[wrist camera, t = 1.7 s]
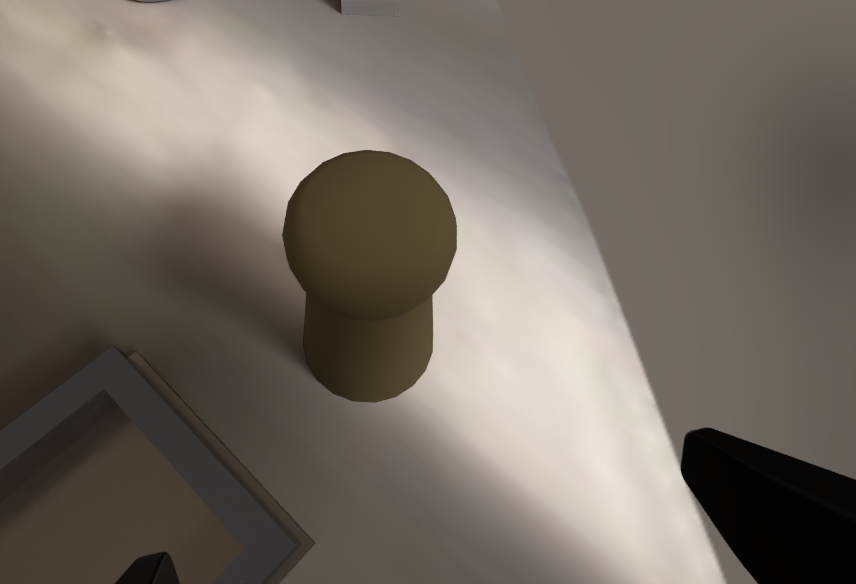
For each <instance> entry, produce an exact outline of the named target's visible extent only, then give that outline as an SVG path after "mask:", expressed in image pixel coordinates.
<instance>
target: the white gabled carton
mask: <svg viewBox="0 0 856 584" xmlns="http://www.w3.org/2000/svg"><path fill="white" fill-rule="evenodd" d="M341 8H342V15H364V16H392V17H399V10H400V0H341Z"/></svg>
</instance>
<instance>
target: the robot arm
mask: <svg viewBox="0 0 856 584" xmlns="http://www.w3.org/2000/svg"><path fill="white" fill-rule="evenodd" d="M681 473H682V476H683V478H684V480H685V482H686V484H687V485H688V487H689V488H690V490H691V491H692V492H693V494H694V495H695V497H696V498H697V500H698V501H699V503H700V504H701V506H702V507H703V509H704V510H705V512H706V513H707V515H708V516H709V517H710V519H711V521H712V522H713V524H714V525H715V527H716V528H717V529H718V531H719V532H720V534H721V535H722V537H723V538H724V540H725V541H726V543H727V544H728V546H729V547H730V548H731V550H732V551H733V553H734V554H735V555H736V557H737V558H738V559H739V561H740V562H741V563H742V564H743V566H744V567H745V568H746V570H747V571H748V572H749V573H750V574H751V576H752V577H753V578H754V579H755V581H756V582H757V583H758V584H856V480H855V479H852V478H849V477H847V476H844V475H841V474H838V473H835V472H833V471H830V470H827V469H824V468H822V467H819V466H816V465H813V464H810V463H807V462H805V461H802V460H799V459H796V458H794V457H791V456H788V455H785V454H782V453H780V452H776V451H774V450H771V449H768V448H766V447H762V446H760V445H757V444H754V443H751V442H749V441H746V440H743V439H740V438H737V437H735V436H732V435H729V434H726V433H723V432H720V431H718V430H715V429H712V428H700V429H697V430H692V431H689V432H687V433H686V435H685V437H684V443H683V451H682V459H681ZM114 584H180V582H179V579H178V576H177V573H176V570H175V567H174V564H173V561H172V558H171V556H170V555H169V553H167V552H158V553H154V554H150V555H145V556H142V557H139V558H138V559H136V560H135V561H134V562H133V563H132V564H131V565H130V567H129V568H128V569H127V570H126V571H125V572H124V573H123V574H122V576H121V577H120V578H119V579H118V580H117V581H116V582H115V583H114Z"/></svg>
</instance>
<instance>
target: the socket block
mask: <svg viewBox="0 0 856 584" xmlns="http://www.w3.org/2000/svg"><path fill="white" fill-rule="evenodd" d="M314 544H315V542H314V541H313V540H312V539H311V538H310V537H309V536H308V534H307V533H306V532H305V531H304V530H303V529H302V528H301V527H300V526H299V525H298V524H297V523H296V522H295V520H294V519H293V518H292V517H291V516H290V515H289V514H288V513H287V512H286V511H285V510H284V509H283V508H282V507H281V505H280V504H279V503H278V502H277V501H276V500H275V499H274V498H273V497H272V496H271V495H270V494H269V493H268V491H267V490H266V489H265V488H264V487H263V486H262V485H261V484H260V483H259V482H258V481H257V480H256V479H255V477H254V476H253V475H252V474H251V473H250V472H249V471H248V470H247V469H246V468H245V467H244V466H243V465H242V463H241V462H240V461H239V460H238V459H237V458H236V457H235V456H234V455H233V454H232V453H231V452H230V451H229V449H228V448H227V447H226V446H225V445H224V444H223V443H222V442H221V441H220V440H219V439H218V438H217V437H216V435H215V434H214V433H213V432H212V431H211V430H210V429H209V428H208V427H207V426H206V425H205V424H204V423H203V421H202V420H201V419H200V418H199V417H198V416H197V415H196V414H195V413H194V412H193V411H192V410H191V409H190V407H189V406H188V405H187V404H186V403H185V402H184V401H183V400H182V399H181V398H180V397H179V396H178V395H177V393H176V392H175V391H174V390H173V389H172V388H171V387H170V386H169V385H168V384H167V383H166V382H165V381H164V379H163V378H162V377H161V376H160V375H159V374H158V373H157V372H156V371H155V370H154V369H153V368H152V367H151V365H150V364H149V363H148V362H147V361H146V360H145V359H144V358H143V357H142V356H141V355H140V354H139V353H137V352H136V351H135V352H134V353H133V354H132V355H130V356H129V357H128V356H127V355H125V354H124V353H123V352H121V351H120V350H118V349H117V348H116V347H114V346H112V347H110V348H109V349H108V350H106V351H105V352H104V353H102V354H101V355H100V356H98V357H97V358H96V359H94V360H93V361H92V362H90V363H89V364H88V365H86V366H85V367H84V368H82V369H81V370H80V371H78V372H77V373H76V374H75V375H73V376H72V377H71V378H69V379H68V380H67V381H65V382H64V383H63V384H61V385H60V386H59V387H57V388H56V389H55V390H53V391H52V392H51V393H49V394H48V395H47V396H45V397H44V398H43V399H41V400H40V401H39V402H37V403H36V404H35V405H34V406H32V407H31V408H30V409H28V410H27V411H26V412H24V413H23V414H22V415H20V416H19V417H18V418H16V419H15V420H14V421H12V422H11V423H10V424H8V425H7V426H6V427H4V428H3V429H2V430H0V584H114V583H115V582H116V581H117V580H118V579H119V578H120V577H121V576H122V574H123V573H124V572H125V571H126V570H127V569H128V568H129V567H130V565H131V564H132V563H133V562H134V561H135V560H136V559H138V558H139V557H142V556H145V555H150V554H154V553H158V552H167V553H169V555H170V556H171V558H172V561H173V564H174V567H175V570H176V573H177V576H178V579H179V582H180V584H279V583H280V582H281V581H282V579H283V578H284V577H285V576H286V575H287V574H288V573H289V572H290V571H291V569H292V568H293V567H294V566H295V565H296V564H297V563H298V562H299V561H300V560H301V558H302V557H303V556H304V555H305V554H306V553H307V552H308V551H309V550H310V549H311V547H312V546H313V545H314Z"/></svg>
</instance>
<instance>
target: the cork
mask: <svg viewBox="0 0 856 584" xmlns="http://www.w3.org/2000/svg"><path fill="white" fill-rule="evenodd" d="M282 236H283V241H284V246H285V251H286V256H287V260H288V263H289V266H290V269H291V271H292V272H293V274H294V275H295V277H296V279H297V280H298V282H299V283H300V285H301V287H302V288H303V290H304V291H306V292H307V293H306V308H305V322H304V337H303V346H304V351H305V356H306V361H307V364H308V365H309V367H310V369H311V370H312V372H313V374H314V375H315V377H316V379H317V380H318V381H319V382H320V383H321V384H322V385H324V386H325V387H326V388H327V389H328V390H330V391H331V392H332V393H333V394H336V395H338V396H341V397H343V398H346V399H349V400H351V401H357V402H378V401H382V400H386V399H390V398H394V397H396V396H398V395H399V394H401V393H403V392H404V391H406V390H407V389H409V388H410V387H412V386H413V385H414V384H415V383H416V382H417V380H418V379H419V378H420V377H421V375H422V374H423V373H424V372H425V370H426V368H427V365H428V363H429V360H430V357H431V355H432V352H433V306H432V295H433V293H434V292H435V291H436V290H437V289H438V288H439V287H440V285H441V284H442V283H443V282H444V281H445V279H446V276H447V274H448V271H449V268H450V266H451V263H452V261H453V258H454V255H455V253H456V250H457V225H456V218H455V215H454V212H453V209H452V206H451V203H450V201H449V198H448V195H447V194H446V193H445V192H444V190H443V189H442V188H441V187H440V185H439V184H438V183H437V182H436V180H435V179H434V178H433V177H432V176H431V175H430V174H429V173H428V172H427V171H426V170H424V169H423V168H421V167H420V166H418V165H417V164H416V163H414V162H413V161H411V160H409V159H407V158H404V157H401V156H398V155H396V154H393V153H390V152H382V151H372V150H363V151H356V152H349V153H343V154H341V155H339V156H337V157H334V158H332V159H330V160H327V161H325V162H323V163H322V164H321V165H319V166H318V167H317V168H316V169H315V170H314V171H312V172H311V173H310V174H309V175H308V176H307V177H305V178H304V179H303V180H302V181H301V182H300V183H299V185H298V187H297V188H296V190H295V192H294V193H293V195H292V197H291V198H290V200H289V202H288V206H287V211H286V217H285V223H284V228H283V234H282Z"/></svg>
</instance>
